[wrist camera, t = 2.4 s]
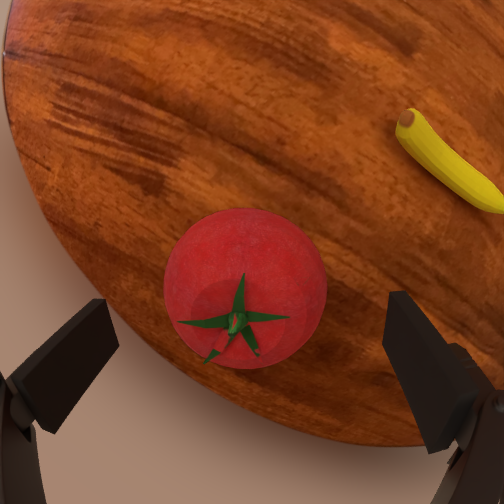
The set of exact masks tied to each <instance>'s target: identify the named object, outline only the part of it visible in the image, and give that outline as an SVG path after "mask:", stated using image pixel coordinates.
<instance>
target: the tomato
mask: <svg viewBox="0 0 504 504" xmlns="http://www.w3.org/2000/svg"><path fill="white" fill-rule="evenodd" d="M163 293H164V300H165V306H166V309H167V312H168V314H169V317H170V320H171V322H172V325H173V327H174V328H175V330H176V331H177V333H178V335H179V336H180V338H181V339H182V340H183V341H184V342H185V343H186V344H187V345H188V346H189V347H190V348H191V349H192V350H194V351H195V352H196V353H197V354H199V355H200V356H202V357H204V358H206V360H205V361H204V363H203V364H205V363H207V362H208V361H211V362H214V363H217V364H219V365H222V366H226V367H231V368H238V369H254V368H262V367H266V366H269V365H273V364H276V363H278V362H280V361H282V360H284V359H286V358H288V357H289V356H291V355H292V354H293V353H295V352H296V351H297V350H298V349H300V348H301V347H302V346H303V345H304V344H305V343H306V341H307V340H308V339H309V338H310V337H311V336H312V335H313V333H314V331H315V329H316V328H317V326H318V324H319V322H320V319H321V316H322V313H323V310H324V307H325V303H326V297H327V280H326V272H325V268H324V265H323V262H322V259H321V257H320V254H319V252H318V250H317V249H316V247H315V245H314V244H313V242H312V241H311V239H310V238H309V237H308V236H307V235H306V234H305V233H304V232H303V231H302V230H301V229H300V228H299V227H298V226H296V225H295V224H293V223H292V222H290V221H289V220H287V219H286V218H284V217H281V216H279V215H276V214H274V213H271V212H269V211H265V210H259V209H254V208H233V209H228V210H223V211H219V212H216V213H214V214H211V215H209V216H207V217H205V218H202V219H201V220H200V221H198V222H197V223H196V224H194V225H193V226H191V227H190V228H189V229H188V230H187V231H186V233H185V234H184V235H183V236H182V237H181V238H180V239H179V241H178V242H177V243H176V245H175V247H174V249H173V251H172V252H171V254H170V256H169V260H168V263H167V267H166V270H165V277H164V291H163Z"/></svg>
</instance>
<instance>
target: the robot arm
mask: <svg viewBox="0 0 504 504" xmlns="http://www.w3.org/2000/svg"><path fill="white" fill-rule="evenodd" d="M382 345H383V347H384V349H385V352H386V354H387V356H388V358H389V360H390V362H391V364H392V367H393V369H394V371H395V373H396V375H397V378H398V380H399V382H400V384H401V387H402V389H403V391H404V394H405V396H406V398H407V401H408V403H409V405H410V408H411V410H412V413H413V415H414V418H415V420H416V422H417V425H418V428H419V430H420V433H421V435H422V438H423V440H424V443H425V446H426V448H427V451H428V454H432V453H435V452H439V451H442V450H445V449H448V448H449V446H450V445H451V443H452V442H453V440H454V438H455V439H456V441H457V443H458V445H459V446H458V447H457V449H456V451H455V452H454V454H453V455H452V457H451V458H450V459H449V461H448V462H447V464H450V465H449V467H448V469H447V471H446V473H445V476H444V478H443V480H442V482H441V484H440V486H439V488H438V490H437V492H436V494H435V496H434V498H433V500H432V502H431V504H498V502H499V499H500V503H499V504H504V390H495V388H494V387H493V385H492V384H491V382H490V381H489V380H488V378H487V377H486V376H485V374H484V373H483V372H482V370H481V369H480V367H479V366H477V364H476V362H475V361H474V360H472V357H471V356H470V354H469V353H468V352H467V351H466V349H464V348H463V347H461V346H460V345H458V344H457V343H451V344H447V343H446V341H445V340H444V339H443V337H442V336H441V335H440V333H439V332H438V331H437V329H436V328H435V327H434V326H433V324H432V323H431V322H430V320H429V319H428V318H427V317H426V315H425V314H424V313H423V312H422V310H421V309H420V308H419V307H418V306H417V304H416V303H415V302H414V301H413V299H412V298H411V297H410V296H409V295H408V293H407V292H406V291H393V292H389V301H388V308H387V316H386V322H385V329H384V335H383V341H382ZM118 347H119V343H118V340H117V336H116V334H115V330H114V327H113V324H112V320H111V317H110V314H109V310H108V307H107V303H106V299H92V300H91V301H90V302H89V303H88V304H87V305H86V306H84V307H83V308H82V309H81V310H80V311H79V312H78V313H76V314H75V315H74V316H73V317H72V318H71V319H70V320H69V321H68V322H67V323H65V324H64V325H63V326H62V327H61V328H60V329H59V330H58V331H57V332H55V333H54V334H53V335H52V336H51V337H50V338H49V339H48V340H47V341H46V342H45V343H44V344H43V345H42V346H40V348H38V349H36V351H34V352H33V353H32V354H31V355H30V357H28V358H27V359H26V360H25V361H24V363H22V364H21V365H20V366H19V367H18V368H17V369H16V370H15V371H14V372H13V373H12V374H11V375H10V376H9V377H8V378H7V379H6V380H5V379H4V377H3V375H2V373H1V372H0V504H47V503H46V499H45V494H44V489H43V485H42V479H41V473H40V467H39V459H38V451H37V442H36V432H35V428H34V426H33V424H32V422H33V421H34V420H35V419H36V421H37V422H38V424H39V425H40V427H41V428H42V429H43V430H45V431H48V432H50V433H52V434H55V433H56V432H57V431H58V429H59V427H60V426H61V425H62V423H63V422H64V421H65V419H66V418H67V416H68V415H69V413H70V412H71V411H72V409H73V408H74V406H75V405H76V404H77V402H78V401H79V400H80V398H81V397H82V395H83V394H84V393H85V391H86V390H87V389H88V387H89V386H90V384H91V383H92V382H93V380H94V379H95V378H96V376H97V375H98V374H99V372H100V371H101V370H102V368H103V367H104V366H105V364H106V363H107V362H108V360H109V359H110V358H111V356H112V355H113V354H114V353H115V351H116V350H117V349H118Z"/></svg>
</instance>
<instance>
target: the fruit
mask: <svg viewBox="0 0 504 504" xmlns="http://www.w3.org/2000/svg"><path fill="white" fill-rule="evenodd" d="M395 135H396V138H397V140H398V141H399V143H400V144H401V146H402V147H403V148H404V149H405V150H406V151H407V152H408V153H409V154H410V155H411V156H412V157H413V158H414V159H415V160H416V161H417V162H418V163H419V164H420V165H422V166H423V167H424V168H425V169H426V170H427V171H429V172H430V173H431V174H432V175H433V176H435V177H436V178H437V179H438V180H440V181H441V182H442V183H443V184H445V185H446V186H447V187H448V188H450V189H451V190H452V191H454V192H455V193H456V194H458V195H459V196H460V197H462V198H463V199H464V200H466V201H467V202H469V203H470V204H472V205H473V206H475V207H477V208H479V209H481V210H484V211H487V212H491V213H497V214H504V196H503V195H502V193H501V192H500V191H499V190H498V188H497V187H496V186H495V185H494V184H493V183H492V182H491V181H490V180H489V179H488V178H486V177H485V176H484V175H483V174H481V173H480V172H479V171H477V170H476V169H475V168H474V167H472V166H471V165H470V164H469V163H467V162H466V161H465V160H464V159H462V158H461V157H460V156H459V155H458V154H457V153H456V152H455V151H453V150H452V149H451V148H450V147H449V146H448V145H447V144H446V143H445V142H444V141H443V140H442V139H441V138H440V137H439V136H438V135H437V134H436V133H435V131H434V130H433V129H432V128H431V126H430V125H429V124H428V122H427V121H426V120H425V118H424V117H423V115H422V114H421V113H420V112H418V111H417V110H416V109H407V110H404V111H402V113H401V114H400V117H399V120H398V123H397V126H396V132H395Z"/></svg>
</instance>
